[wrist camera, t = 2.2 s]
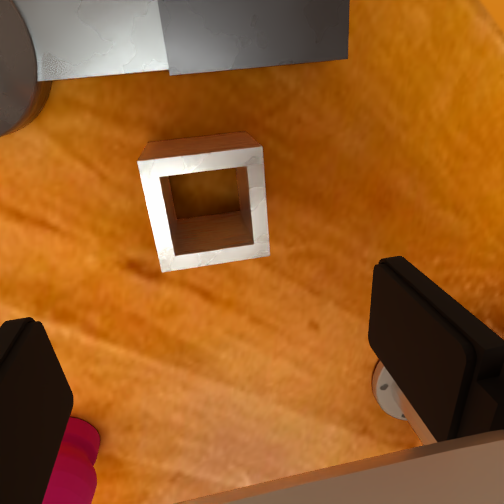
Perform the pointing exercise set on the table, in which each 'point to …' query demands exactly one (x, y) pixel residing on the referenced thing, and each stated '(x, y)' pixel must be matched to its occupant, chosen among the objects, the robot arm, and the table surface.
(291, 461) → the table surface
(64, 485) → the pepper mill
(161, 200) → the socket
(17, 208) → the table surface
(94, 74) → the ratchet
